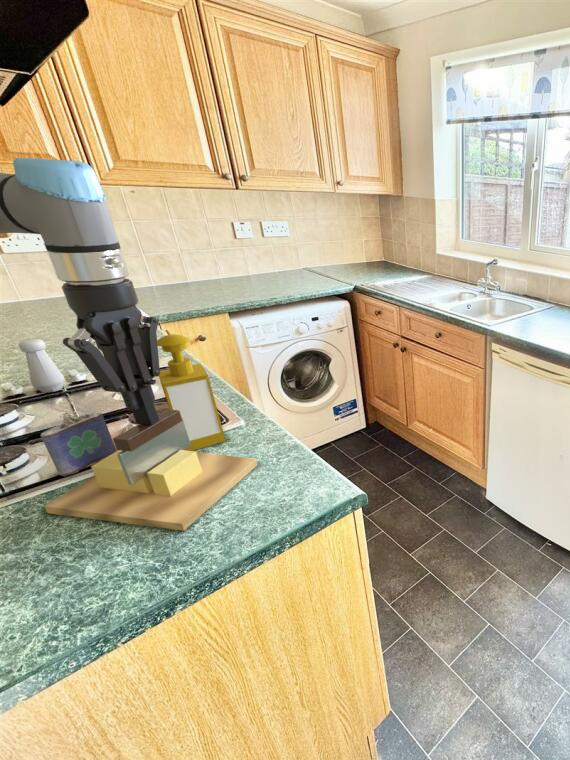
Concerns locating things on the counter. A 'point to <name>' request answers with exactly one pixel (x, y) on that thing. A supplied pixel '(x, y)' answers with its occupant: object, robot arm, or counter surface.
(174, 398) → the soap bottle
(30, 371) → the salt shaker
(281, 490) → the counter surface
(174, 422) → the dough scraper
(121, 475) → the butter block
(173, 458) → the butter pat
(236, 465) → the butter board
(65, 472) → the flask
